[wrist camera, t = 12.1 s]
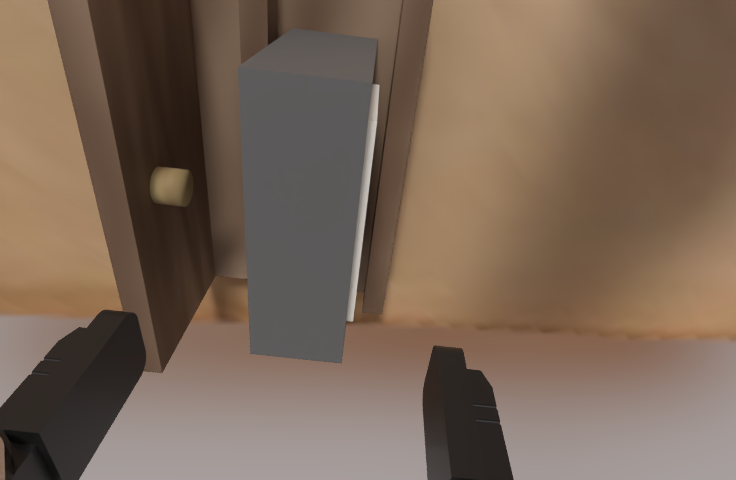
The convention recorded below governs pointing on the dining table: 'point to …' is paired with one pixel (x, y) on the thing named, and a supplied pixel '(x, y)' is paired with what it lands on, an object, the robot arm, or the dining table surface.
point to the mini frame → (306, 187)
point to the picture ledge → (212, 136)
